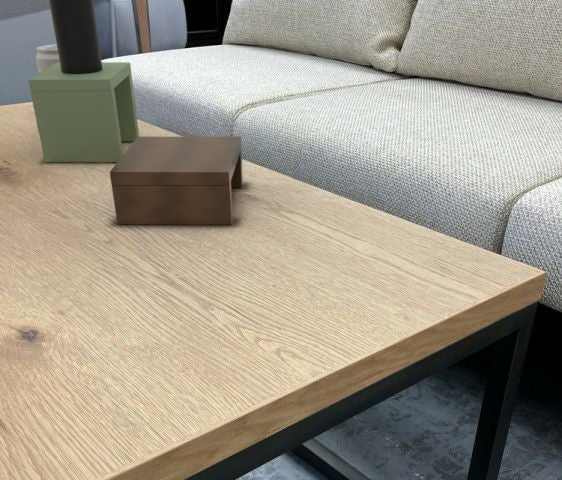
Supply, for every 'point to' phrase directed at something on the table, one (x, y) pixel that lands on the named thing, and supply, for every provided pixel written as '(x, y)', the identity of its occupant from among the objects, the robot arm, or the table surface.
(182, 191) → the low shelf
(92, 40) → the black tin
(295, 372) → the table surface
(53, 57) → the beverage can
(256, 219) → the table surface
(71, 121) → the green open cubby
